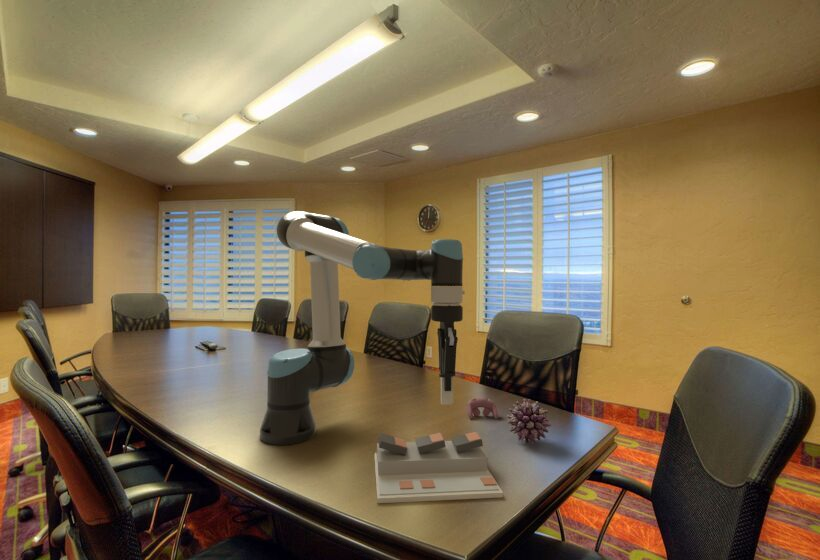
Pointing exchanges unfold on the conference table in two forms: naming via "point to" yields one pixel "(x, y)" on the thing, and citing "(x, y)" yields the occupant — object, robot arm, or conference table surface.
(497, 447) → the conference table surface
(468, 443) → the right switch
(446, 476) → the switch panel
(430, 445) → the middle switch
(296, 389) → the robot arm
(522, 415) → the flower
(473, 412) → the video game controller
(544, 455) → the conference table surface
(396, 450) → the left switch
